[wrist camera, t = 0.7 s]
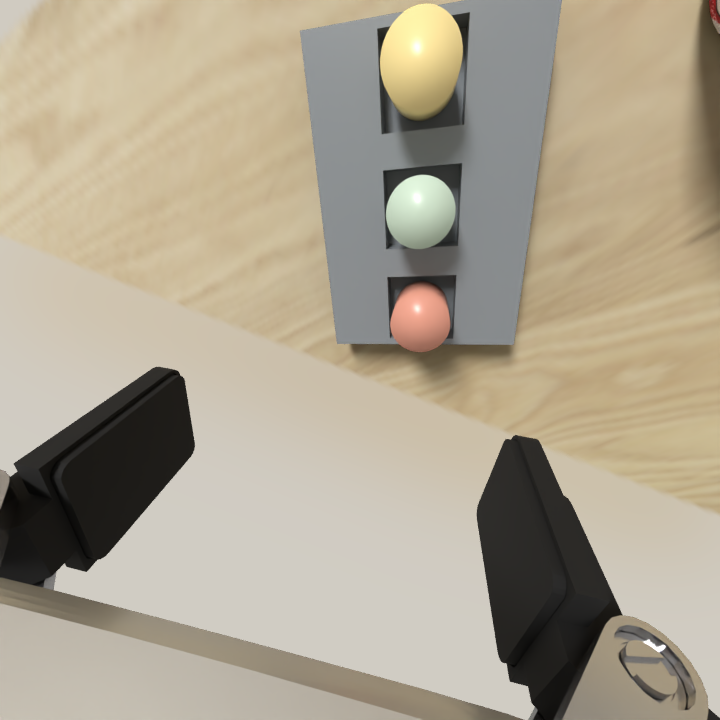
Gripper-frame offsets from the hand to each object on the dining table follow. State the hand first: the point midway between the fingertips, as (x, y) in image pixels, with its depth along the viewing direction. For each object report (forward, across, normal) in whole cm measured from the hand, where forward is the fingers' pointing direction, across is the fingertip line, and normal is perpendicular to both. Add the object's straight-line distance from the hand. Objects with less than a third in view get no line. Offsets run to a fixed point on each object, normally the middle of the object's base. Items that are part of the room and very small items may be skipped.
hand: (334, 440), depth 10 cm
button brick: (+18, -3, +2) cm, 19 cm away
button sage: (+18, -1, -5) cm, 19 cm away
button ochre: (+18, 0, -12) cm, 22 cm away
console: (+21, -1, -5) cm, 22 cm away
